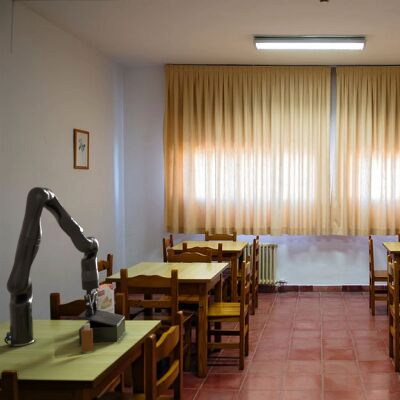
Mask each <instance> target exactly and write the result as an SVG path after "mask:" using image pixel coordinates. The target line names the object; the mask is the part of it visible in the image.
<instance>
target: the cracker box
mask: <svg viewBox="0 0 400 400" xmlns="http://www.w3.org/2000/svg"><path fill="white" fill-rule="evenodd" d="M97 289H98V301H97V303H96V304H97V310H101V311H105V312H110V313H114V314H115V286H114V284H112V283H103V284H101V285H100V284H99V288H97Z"/></svg>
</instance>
